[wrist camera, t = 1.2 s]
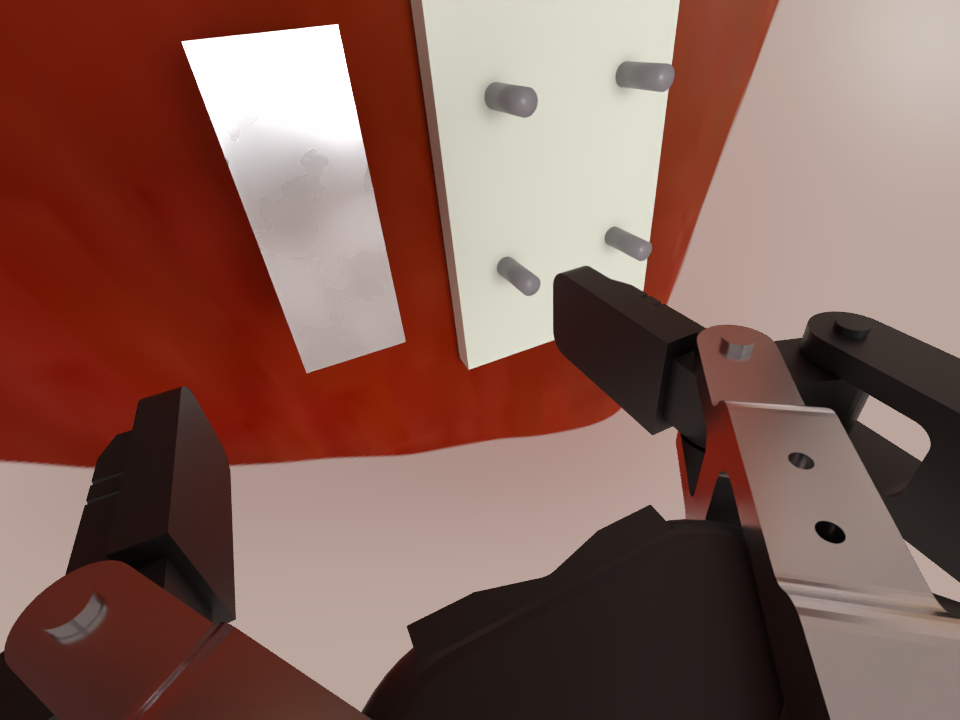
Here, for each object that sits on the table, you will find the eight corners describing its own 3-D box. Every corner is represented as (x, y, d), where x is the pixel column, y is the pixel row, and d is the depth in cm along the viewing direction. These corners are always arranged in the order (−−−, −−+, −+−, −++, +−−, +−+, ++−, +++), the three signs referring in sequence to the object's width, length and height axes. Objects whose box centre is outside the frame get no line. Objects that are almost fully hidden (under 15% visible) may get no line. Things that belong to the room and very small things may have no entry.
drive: (189, 39, 19) (181, 41, 14) (307, 27, 20) (341, 24, 15) (287, 305, 26) (306, 373, 21) (370, 282, 27) (407, 341, 22)
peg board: (400, -74, 20) (438, -96, 16) (668, -87, 24) (744, -108, 21) (459, 358, 33) (488, 395, 29) (627, 301, 37) (669, 328, 33)
